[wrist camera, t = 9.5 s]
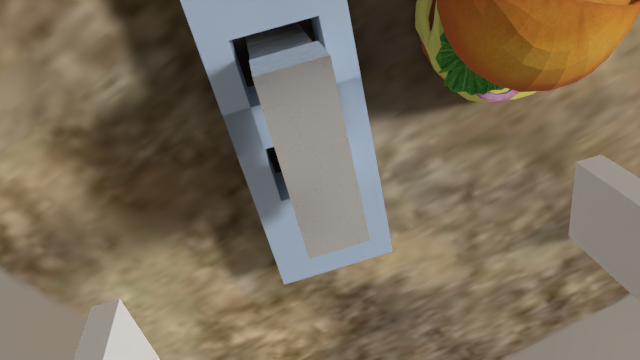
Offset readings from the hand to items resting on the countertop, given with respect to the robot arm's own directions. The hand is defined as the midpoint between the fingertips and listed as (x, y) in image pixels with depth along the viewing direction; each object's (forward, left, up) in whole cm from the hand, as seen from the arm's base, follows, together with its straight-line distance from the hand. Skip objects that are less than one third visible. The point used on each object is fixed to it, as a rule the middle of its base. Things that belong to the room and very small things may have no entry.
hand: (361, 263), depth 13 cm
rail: (0, 0, -16) cm, 16 cm away
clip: (0, 0, -16) cm, 16 cm away
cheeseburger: (-2, +12, -17) cm, 21 cm away
